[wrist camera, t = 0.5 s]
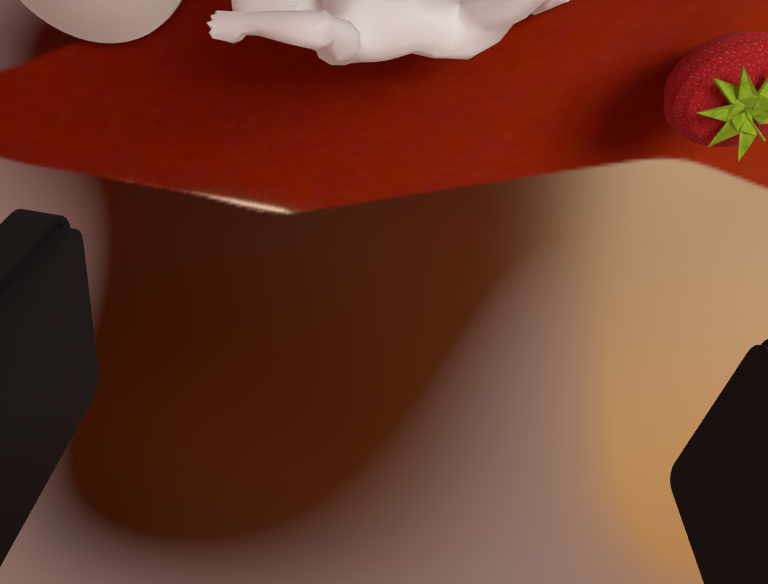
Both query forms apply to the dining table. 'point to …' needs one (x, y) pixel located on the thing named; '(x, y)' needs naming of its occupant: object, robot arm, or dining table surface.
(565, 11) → the dining table surface
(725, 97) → the strawberry
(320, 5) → the person figurine
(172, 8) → the ceramic coaster
